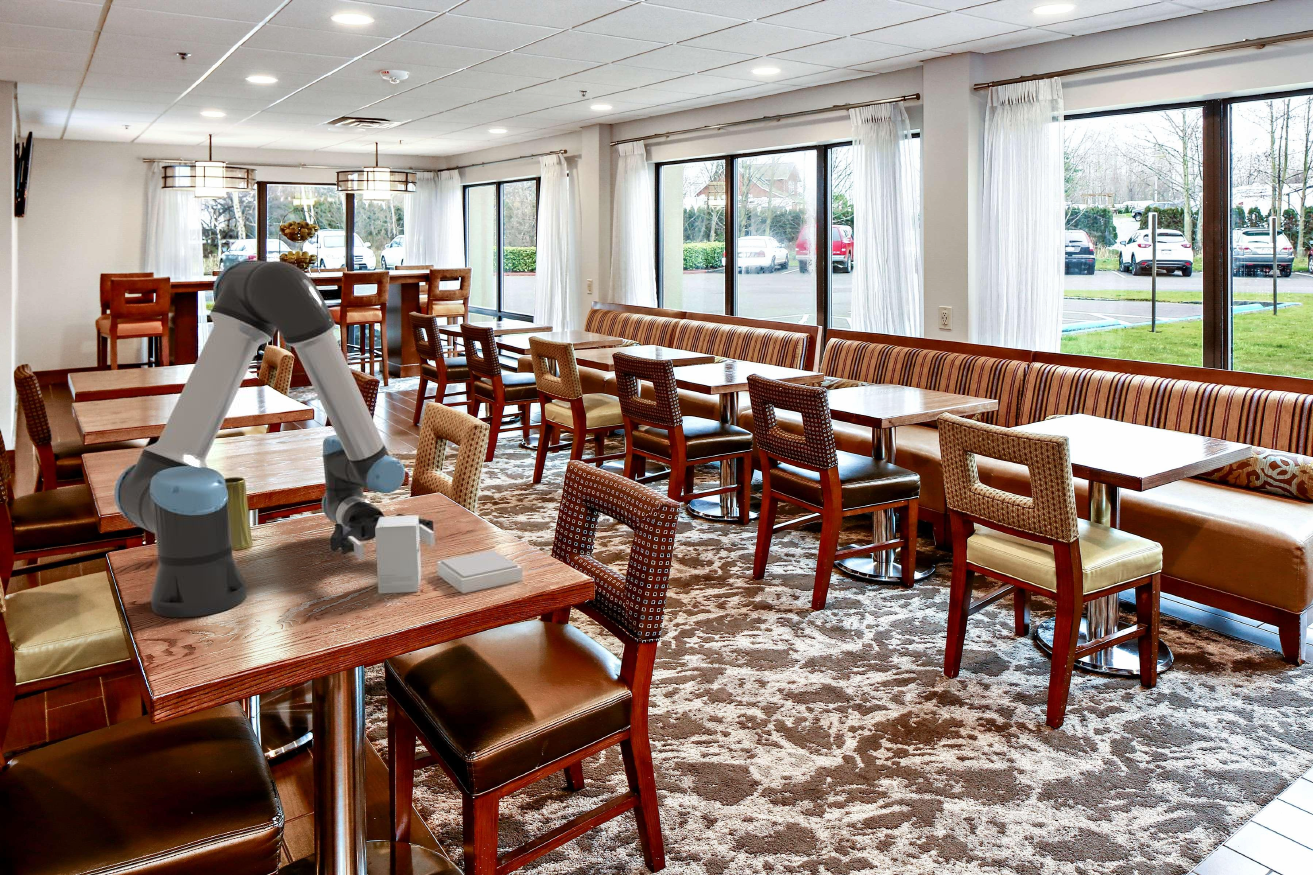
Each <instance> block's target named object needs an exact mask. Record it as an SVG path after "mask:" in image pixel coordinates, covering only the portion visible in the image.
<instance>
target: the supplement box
mask: <svg viewBox="0 0 1313 875" xmlns="http://www.w3.org/2000/svg"><path fill="white" fill-rule="evenodd" d="M419 517H420V516H419V515H418V514H417V515H416V514H413V515H411V514H410V515H405V516H396V515H395V516H385V517H380V518H379V520H378V522H377V525H376V528H375V552H376V569H377V588H378V590H377V591H378V594H400V593H401V594H402V593H415V592H419V590H420V583H421V580H422V565H421V564H422V563H421V561H422V560H421V559H422V558H421V539H420V536H419Z"/></svg>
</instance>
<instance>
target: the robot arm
mask: <svg viewBox="0 0 1313 875" xmlns="http://www.w3.org/2000/svg"><path fill="white" fill-rule="evenodd" d="M212 294H213V295H212V296H213V297H214V304H213V306H212V309H211V310H210V313H209V316H210V318H211V320H212V323H213V327H212V329H211V331H210V333H209V335H208V337H207V340H206V342H205V344H204V346H203V348H202V350H201V352H200V354H199V356H198V358H197V360H196V362H195V364H194V367H193V369H192V371H191V372H190V375H189V377H188V379H187V380H186V383H185V385H184V386H183V389H182V392H180V395H179V397H178V399H177V401H176V404H175V406H174V407H173V409H172V412H171V414H170V416H169V417H168V420H167V422H166V424H165V425H164V428H163V430H162V432H161V434H160V436H159V438H158V440H157V441H156V442H155V443H152V444H150V445H147V446H146V447H144V448H143V450H142V452H141V454H140V456H139V457H138V460H137V462H136V463H134V464H132V465H129V467H127V468H126V469H124V470H123V472H122V473H121V474H120V475H119V477H118V479H117V481H116V483H115V486H114V494H113V496H114V502H115V504H116V507H117V509H118V511H119V512H120V514H122V516H123V517H124V518H125V519H126V520H127V521H129V522H130V523H131V524H133V525H134V526H135V527H137V528H139V529H140V528H141V529H145V530H147V531H148V532H150V533H151V534H155V541H156V549H157V550H156V551H157V557H158V558H157V560H158V568H157V570H156V571H157V572H156V575H155V579H154V583H153V587H152V591H151V595H150V603H151V610H152V612H153V613H154V614H156V615H158V616H162V617H167V618H175V619H176V618H179V619H180V618H193V617H194V618H195V617H202V616H207V615H212V614H217V613H221V612H224V611H226V610H230V609H232V608H235V607H236V606H238V605H240V604H241V603H243V602H244V601H245V600H246V599H247V597H248V595H247V584H246V581H245V579H244V577H243V575H242V573H241V570H240V568H239V566H238V563H237V562H236V560H235V557H234V556H233V550H232V546H231V533H230V521H229V509H228V490H227V488H226V484H225V479H224V478H225V477H224V476H223V474H221V472H219V471H217V470H215V469H213V468H210V467H208V465H207V463H206V459H207V457H208V455H209V452H210V451H211V448H212V447H213V444H214V441H215V440H216V438H217V436H218V433H219V431H220V429H221V427H222V425H223V423H224V422H225V418H226V416H227V414H228V412H229V411H230V408H231V406H232V403H233V401H234V400H235V397H236V395H237V393H238V391H239V389H240V387H241V384H242V382H243V381H244V379H245V377H246V375H247V373H248V370H249V368H250V366H251V364H252V362H253V359H254V358H255V355H256V353H257V351H258V349H259V347H260V346H261V345H263V344H266V343H270V342H271V340H273V338H274V335H275V333H276V331H277V330H278V332H279V333H280V335H281V337H282V338H283V341H284V343H285V345H288V346H291V347H293V349H294V351H295V352H296V354H297V357H298V359H299V361H300V362H301V364H302V366H303V368H304V371H305V372H306V375H307V377H308V379H309V381H310V382H311V385H312V387H313V389H314V391H315V393H316V395H317V397H318V399H319V401H320V404H321V405H322V408H323V410H324V413H325V415H326V416H327V417H328V420H329V423H330V424H331V426H332V428H333V430H334V432H335V434H334V435H329V436H327V437H325V438H324V439H323V442H322V461H323V462H322V463H323V471H324V482H325V483H324V484H325V493H324V495H323V497H322V500H321V508H322V512H323V513H324V515H325V516H326V518H328V520H329V521H330V522H332V523H333V524H334V530H333V532H332V534H331V536H330V537H329V539H330V540H329V542H330V551H331V552H337V551H338V549H341V554H342V555H347V554H349V553H351V554H353V555H354V556H355V557H356V558H358V559H359V560H365V548H364V546H365V545H364V544H363V543H362V542H368V541H371V540H374V539H376V537H375V528H376V525H377V522H378V520H379V518H380V517H386V516H385V515H384V513H383V512H382V511H381V509H380V508H379V507H378V506H376V505H374V504H373V503H372V502H370V501H369V500H367V499H365V498H364V490H363V489H366V490H368V491H371V492H373V493H380V494H391V493H394V492H396V491H397V490H398V489H399V488H400V487H401V486H402V485H403V483H404V480H405V478H406V477H405V476H406V470H405V466H404V464H403V463H402V462H401V460H399V458H396V457H395V456H393V455H390V453H389V452H388V449H387V448H386V446H385V443H384V441H383V439H382V436H381V435H380V432H379V430H378V428H377V425H376V424H375V422H374V419H373V417H372V415H371V412H370V410H369V408H368V405H367V404H366V402H365V400H364V399H365V398H363V395H362V393H361V391H360V389H359V386H358V384H357V382H356V379H355V377H354V376H353V374H352V371H351V368H350V366H349V365H348V361H347V360H346V358H345V355H344V354H343V351H342V349H341V347H340V345H339V342H338V340H337V338H336V336H335V333H334V329H335V327H336V323H335V320H334V317H333V316H332V313H331V311H330V309H329V306H328V305H327V303H326V301H325V300H324V298H323V296H322V294H321V293H320V291H319V289H318V288H317V286H316V284H315V283H314V282H313V280H312V279H311V278H310V276H308V274H306V273H305V272H304V271H303V270H302V269H300V268H299V267H297V266H296V265H294V264H292V263H290V262H286V261H278V260H275V261H274V260H272V261H266V260H265V261H263V260H262V261H261V260H257V259H245V260H240V261H238V262H235V263H234V262H233V263H232V264H229V265H228V266H225V268H223V269H222V270H221V271H220V272H219V274H218V275H217V277H216V279H215V281H214V283H213V290H212ZM395 516H406V515H405V514H403V513H397V514H396V515H395ZM419 536H420V541H422V542H424V543H425V544H427V545H428V546H429V547H434V546H436V544H435V531H434V521H433V520H432V519H425V518H419Z"/></svg>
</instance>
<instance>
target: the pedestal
mask: <svg viewBox="0 0 1313 875" xmlns="http://www.w3.org/2000/svg"><path fill="white" fill-rule="evenodd" d="M436 566H437V567H436V569H437V571H436V572H437V573H436V574H437V576H438V577H440V578H441V579H443V580H444V581H445V582H447V583H448V584H450V585H451V586H452V587H453V588H455V590H458V591H459V592H460V593H461V594H467V593H471V592H476V591H480V590H485V589H489V588H495V587H498V586H504V585H508V584H513V583H518V582H522V581H523V567H522V566H521V565H519V564H518V563H516V562H514V561H512V560H510V559H509V558H507V557H506V556H504V555H502V554H501V553H500V552H498V551H496V550H494V549H491V550H486V551H482V552H477V553H471V554H465V555H460V556H456V557H451V558H446V559H441V560H440V561H436Z"/></svg>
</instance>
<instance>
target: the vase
mask: <svg viewBox="0 0 1313 875" xmlns="http://www.w3.org/2000/svg"><path fill="white" fill-rule="evenodd" d="M224 479H225V484H226V488H227V490H228V509H229V521H230V533H231V546H232V551H240V550H245V548H246V549H249V548H250V547H252V546H253V545H254V542H253V540H252V539H253V537H252V530H251V522H250V513H249V505H248V504H249V503H248V497H247V496H248V495H247V486H246V485H247V484H246V479H245V478H244V477H239V476H233V477H232V476H231V477H230V476H229V477H226V478H225V477H224ZM248 547H249V548H248Z"/></svg>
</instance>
